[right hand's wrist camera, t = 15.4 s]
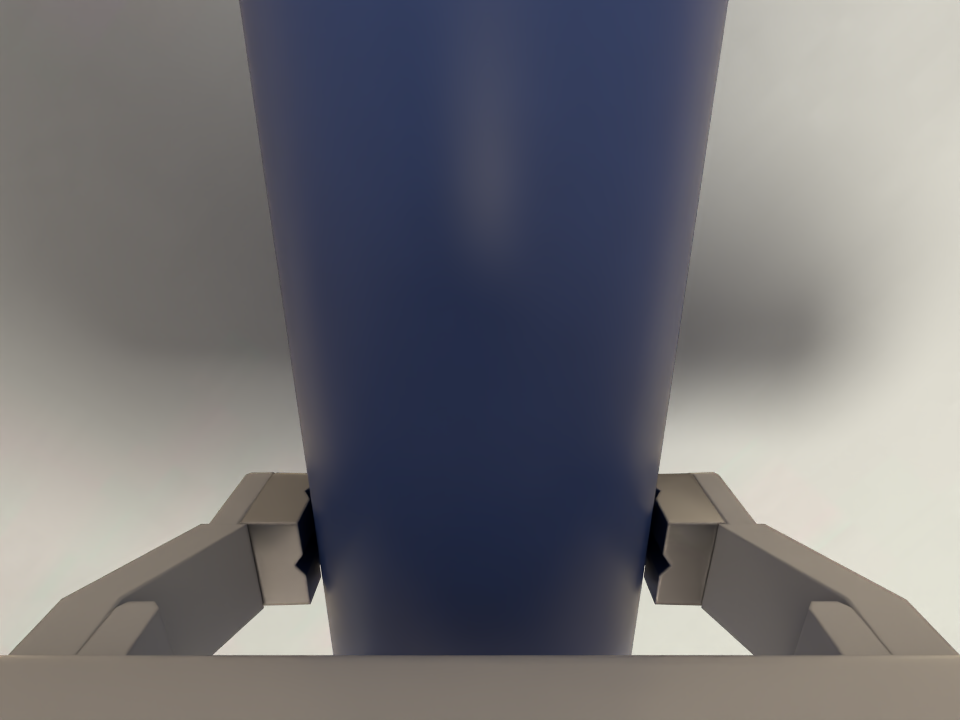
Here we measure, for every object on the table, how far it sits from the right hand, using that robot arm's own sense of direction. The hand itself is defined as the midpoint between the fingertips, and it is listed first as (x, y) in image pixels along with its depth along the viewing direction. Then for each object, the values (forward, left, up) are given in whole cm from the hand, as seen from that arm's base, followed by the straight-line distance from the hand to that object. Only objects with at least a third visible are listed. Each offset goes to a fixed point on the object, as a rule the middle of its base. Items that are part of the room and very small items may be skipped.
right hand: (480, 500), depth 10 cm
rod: (-6, +6, -3) cm, 9 cm away
